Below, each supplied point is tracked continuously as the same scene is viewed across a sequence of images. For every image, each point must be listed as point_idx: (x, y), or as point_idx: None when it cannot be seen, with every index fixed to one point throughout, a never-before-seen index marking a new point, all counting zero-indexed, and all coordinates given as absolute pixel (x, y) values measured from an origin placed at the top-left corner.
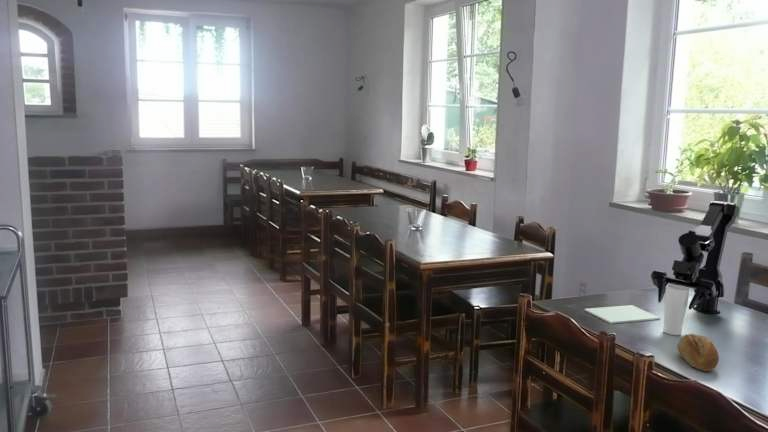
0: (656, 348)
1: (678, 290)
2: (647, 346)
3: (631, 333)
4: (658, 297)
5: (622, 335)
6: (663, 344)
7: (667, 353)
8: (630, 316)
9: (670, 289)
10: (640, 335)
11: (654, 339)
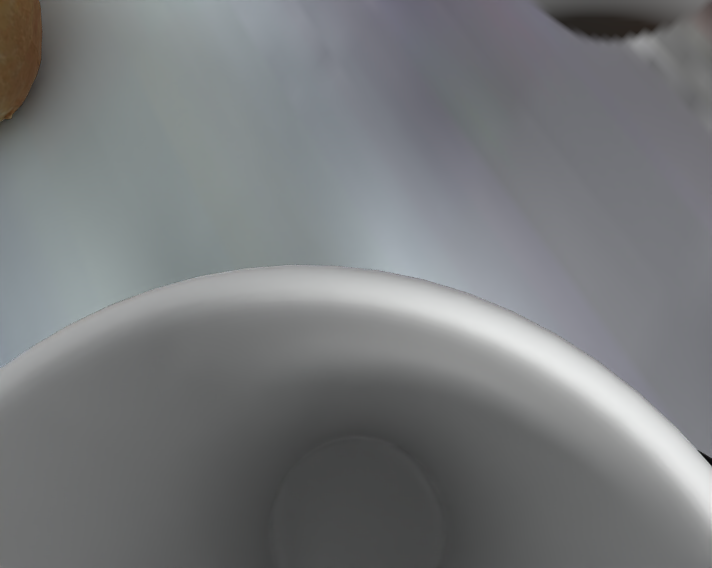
0: (237, 27)
1: (46, 339)
2: (302, 7)
3: (561, 154)
4: (706, 458)
5: (565, 48)
6: (248, 150)
7: (135, 8)
8: None
9: (371, 276)
10: (486, 177)
11: (358, 193)
